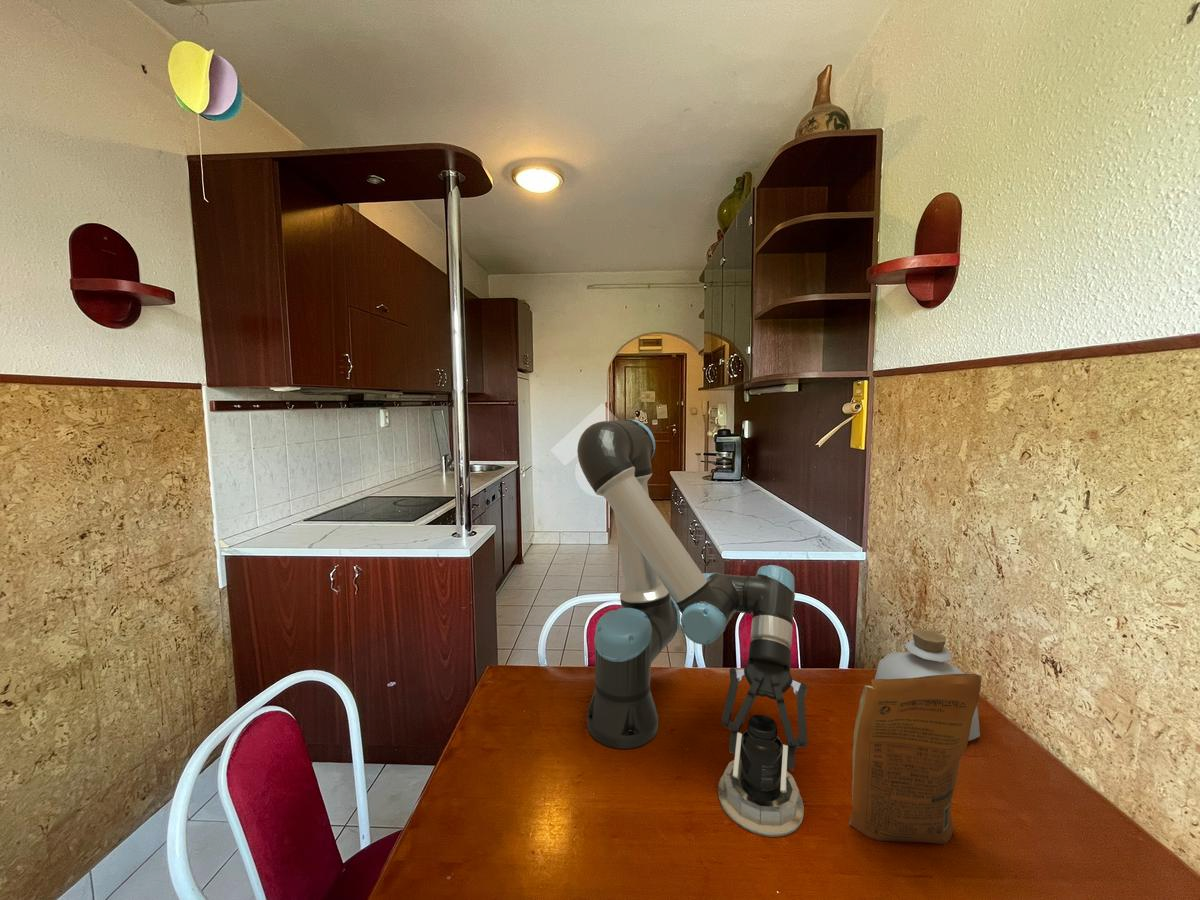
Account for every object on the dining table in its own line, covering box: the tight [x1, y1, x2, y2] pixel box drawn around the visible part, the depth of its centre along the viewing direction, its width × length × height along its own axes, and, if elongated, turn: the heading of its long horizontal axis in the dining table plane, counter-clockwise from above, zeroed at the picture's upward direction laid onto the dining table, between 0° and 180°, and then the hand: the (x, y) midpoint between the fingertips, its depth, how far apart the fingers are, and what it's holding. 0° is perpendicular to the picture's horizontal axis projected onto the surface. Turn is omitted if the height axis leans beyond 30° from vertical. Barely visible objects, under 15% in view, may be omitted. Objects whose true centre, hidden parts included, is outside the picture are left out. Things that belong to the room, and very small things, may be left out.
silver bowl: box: [717, 759, 805, 838], centre depth 85 cm, size 14×14×4 cm
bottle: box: [874, 628, 981, 742], centre depth 106 cm, size 20×20×19 cm
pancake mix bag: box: [848, 673, 983, 845], centre depth 77 cm, size 7×19×28 cm, turn 87°
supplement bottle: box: [740, 714, 784, 802], centre depth 84 cm, size 7×7×12 cm
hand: (758, 783), depth 81 cm, fingers closed on supplement bottle, 7 cm apart
